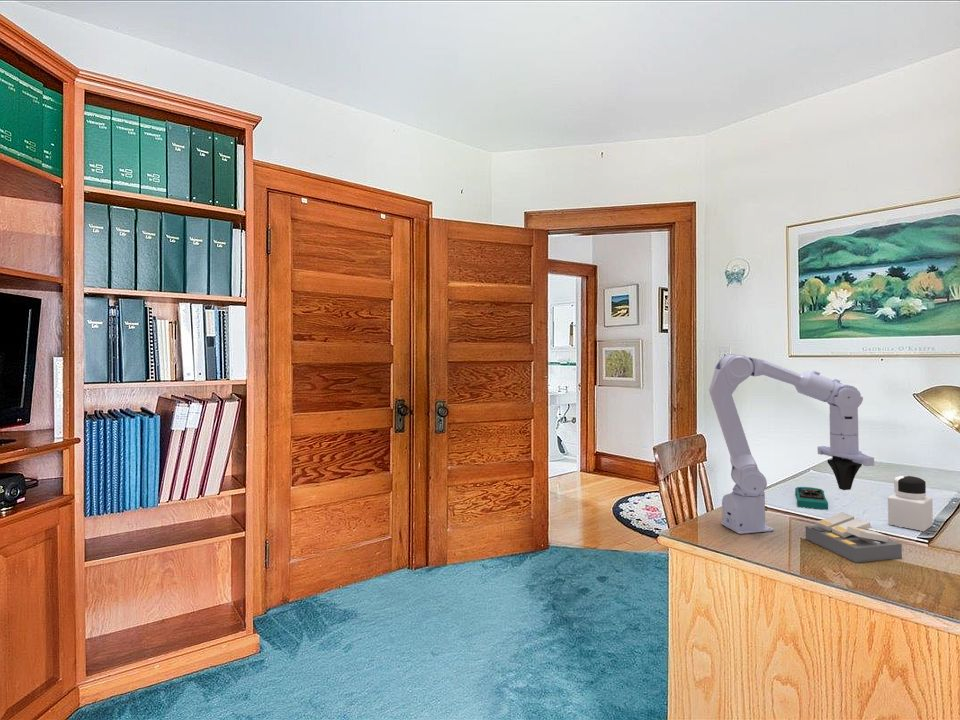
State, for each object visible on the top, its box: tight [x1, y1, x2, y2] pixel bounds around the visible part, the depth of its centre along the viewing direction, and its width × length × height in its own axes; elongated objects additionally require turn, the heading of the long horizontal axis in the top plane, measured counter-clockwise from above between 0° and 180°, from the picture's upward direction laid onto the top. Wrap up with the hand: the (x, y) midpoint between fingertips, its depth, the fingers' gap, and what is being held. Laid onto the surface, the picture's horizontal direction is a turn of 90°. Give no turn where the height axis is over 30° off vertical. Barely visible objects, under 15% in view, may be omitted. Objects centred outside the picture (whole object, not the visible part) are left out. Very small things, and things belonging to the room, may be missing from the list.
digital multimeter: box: [794, 486, 829, 510], centre depth 152 cm, size 7×15×3 cm, turn 151°
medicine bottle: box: [887, 475, 934, 533], centre depth 130 cm, size 7×7×12 cm
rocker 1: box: [816, 512, 855, 531], centre depth 122 cm, size 7×3×1 cm, turn 98°
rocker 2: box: [831, 517, 872, 538], centre depth 118 cm, size 7×3×1 cm, turn 98°
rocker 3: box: [847, 527, 889, 542], centre depth 114 cm, size 7×3×1 cm, turn 98°
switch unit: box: [805, 524, 903, 564], centre depth 118 cm, size 11×14×4 cm
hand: (845, 489), depth 128 cm, fingers closed
